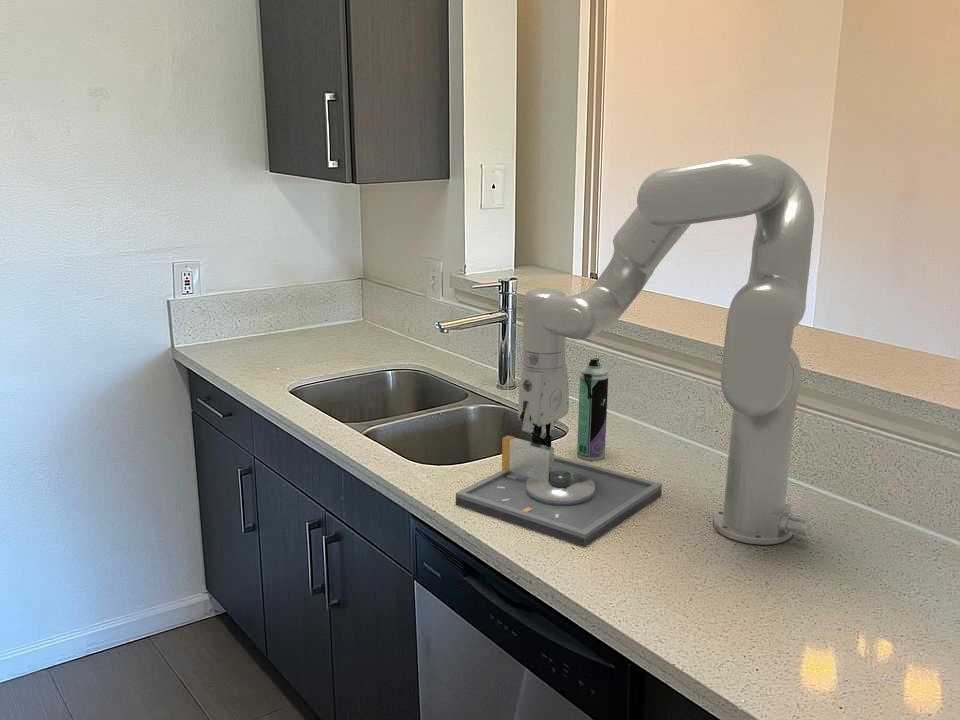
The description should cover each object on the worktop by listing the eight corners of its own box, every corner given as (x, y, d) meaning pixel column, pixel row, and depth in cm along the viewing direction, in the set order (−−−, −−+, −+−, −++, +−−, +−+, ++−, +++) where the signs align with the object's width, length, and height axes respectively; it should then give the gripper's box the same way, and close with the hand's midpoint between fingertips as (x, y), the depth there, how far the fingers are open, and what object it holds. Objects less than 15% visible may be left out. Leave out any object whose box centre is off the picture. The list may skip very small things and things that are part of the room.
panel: (661, 495, 163) (662, 483, 163) (584, 547, 144) (585, 534, 143) (540, 462, 179) (540, 451, 178) (455, 504, 159) (455, 492, 158)
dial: (607, 489, 162) (609, 449, 160) (570, 511, 153) (572, 469, 151) (523, 465, 173) (524, 428, 171) (484, 485, 163) (485, 445, 161)
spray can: (603, 462, 179) (608, 363, 174) (575, 459, 180) (579, 361, 175) (605, 452, 184) (610, 356, 179) (578, 450, 185) (581, 354, 180)
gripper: (537, 371, 155) (534, 473, 159) (584, 354, 166) (580, 449, 171) (501, 363, 159) (500, 463, 164) (549, 347, 170) (547, 440, 175)
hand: (541, 455), depth 167 cm, fingers closed
